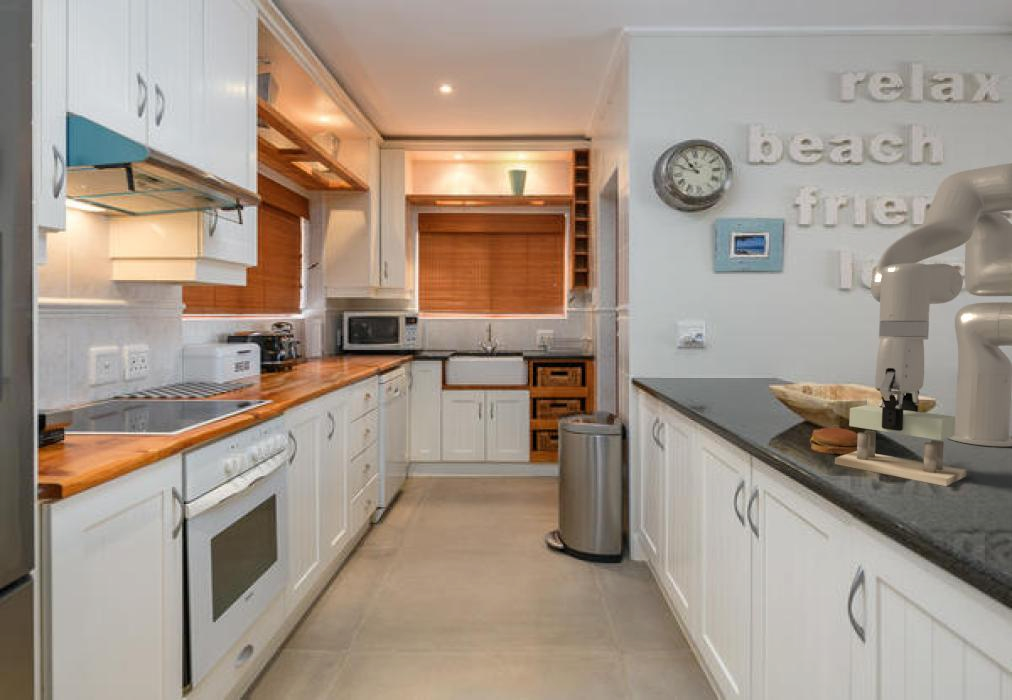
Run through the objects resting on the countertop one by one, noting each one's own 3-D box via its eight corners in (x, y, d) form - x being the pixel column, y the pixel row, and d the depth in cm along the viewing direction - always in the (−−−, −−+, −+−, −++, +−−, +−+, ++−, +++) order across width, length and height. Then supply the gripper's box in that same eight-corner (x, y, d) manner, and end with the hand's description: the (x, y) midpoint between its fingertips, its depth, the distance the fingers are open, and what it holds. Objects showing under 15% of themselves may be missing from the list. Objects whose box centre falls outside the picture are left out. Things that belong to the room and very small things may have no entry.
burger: (871, 456, 117) (872, 434, 117) (826, 457, 117) (826, 434, 117) (843, 445, 127) (844, 425, 127) (801, 446, 127) (802, 425, 127)
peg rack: (857, 456, 117) (858, 426, 117) (966, 476, 102) (967, 442, 102) (834, 463, 111) (835, 432, 111) (946, 486, 97) (947, 450, 96)
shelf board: (863, 422, 114) (864, 405, 114) (954, 435, 102) (955, 416, 102) (849, 426, 111) (849, 408, 111) (940, 440, 99) (941, 420, 98)
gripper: (899, 329, 113) (895, 419, 114) (860, 331, 103) (857, 429, 104) (944, 330, 107) (940, 425, 108) (908, 332, 97) (904, 436, 98)
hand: (899, 426), depth 106 cm, fingers closed on shelf board, 6 cm apart
